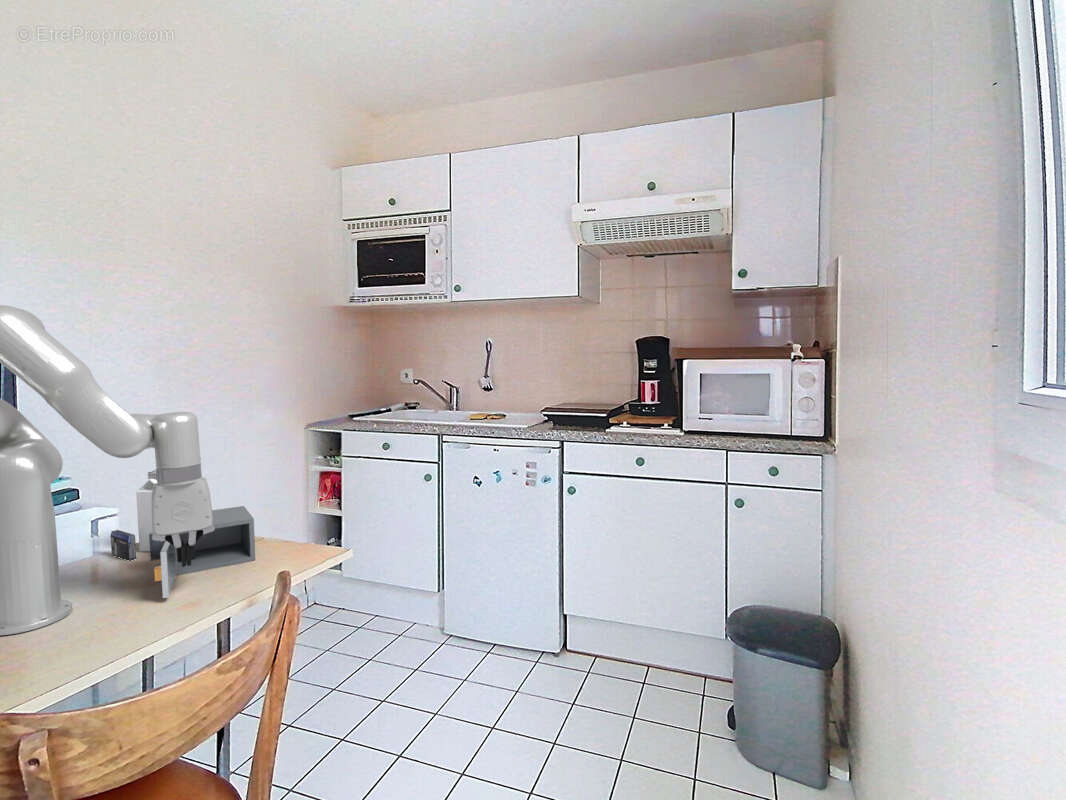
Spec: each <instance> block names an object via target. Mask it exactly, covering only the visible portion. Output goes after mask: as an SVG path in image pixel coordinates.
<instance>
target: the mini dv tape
mask: <svg viewBox="0 0 1066 800" xmlns="http://www.w3.org/2000/svg"><path fill="white" fill-rule="evenodd" d="M136 543H137V542H136V535H135V534H134V533H130V532H128V531H127V532H126V531H123V530H119V529H116V530H112V531H111V532H110V545H111V556H112V557H114V556H116V557H115V558H117V557H120V558H122V559H121V560H123V559H126V560H129V561H130V562H132V561H131V560H133V561H135V560H134V559H137V548H136V547H137V545H136ZM120 558H119V559H120ZM126 560H125V561H126ZM129 561H128V562H129Z"/></svg>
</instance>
